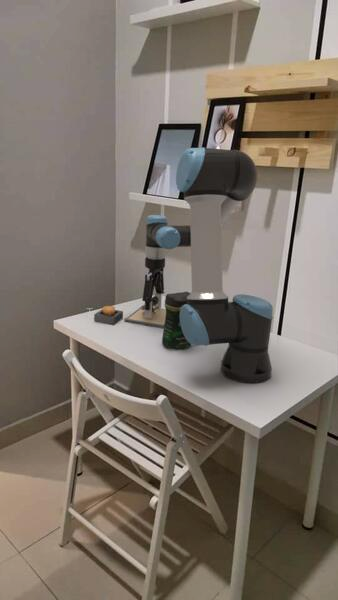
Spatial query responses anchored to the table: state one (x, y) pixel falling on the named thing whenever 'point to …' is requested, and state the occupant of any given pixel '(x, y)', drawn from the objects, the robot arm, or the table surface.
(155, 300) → the eagle figurine
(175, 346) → the coffee jar
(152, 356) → the table surface
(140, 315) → the board
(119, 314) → the button housing
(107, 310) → the button
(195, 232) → the robot arm
